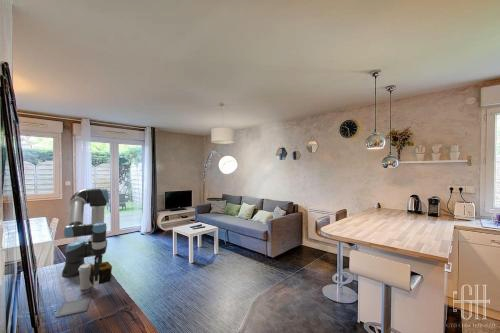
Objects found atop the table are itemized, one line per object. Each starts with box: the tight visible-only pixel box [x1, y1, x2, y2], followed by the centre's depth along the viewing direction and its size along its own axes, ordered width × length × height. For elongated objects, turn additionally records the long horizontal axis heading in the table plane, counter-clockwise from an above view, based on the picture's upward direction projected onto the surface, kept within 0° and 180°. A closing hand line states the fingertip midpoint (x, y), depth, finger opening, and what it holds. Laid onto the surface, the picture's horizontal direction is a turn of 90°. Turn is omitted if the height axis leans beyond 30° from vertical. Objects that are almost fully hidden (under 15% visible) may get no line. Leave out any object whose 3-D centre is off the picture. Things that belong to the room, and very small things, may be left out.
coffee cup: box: [78, 262, 94, 291], centre depth 155 cm, size 10×10×15 cm
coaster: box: [54, 297, 92, 319], centre depth 133 cm, size 14×14×1 cm
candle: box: [89, 261, 113, 287], centre depth 148 cm, size 10×10×10 cm
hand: (97, 280), depth 147 cm, fingers closed on candle, 12 cm apart
